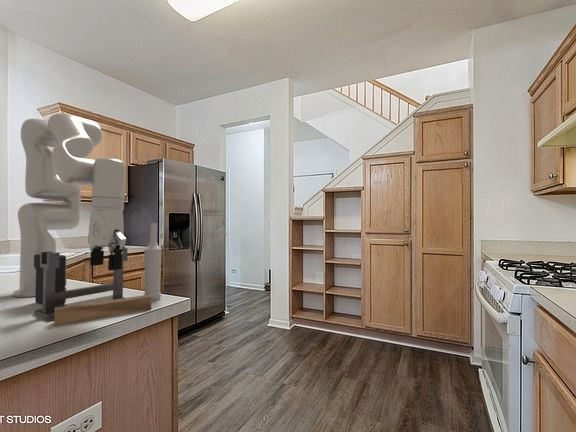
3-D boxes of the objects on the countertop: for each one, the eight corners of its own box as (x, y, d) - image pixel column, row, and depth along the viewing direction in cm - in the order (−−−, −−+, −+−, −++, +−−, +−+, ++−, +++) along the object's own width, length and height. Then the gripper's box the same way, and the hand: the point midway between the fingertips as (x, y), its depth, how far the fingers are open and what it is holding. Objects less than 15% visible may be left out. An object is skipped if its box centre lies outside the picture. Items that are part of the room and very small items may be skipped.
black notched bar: (67, 304, 90) (68, 255, 90) (51, 308, 86) (52, 256, 87) (49, 300, 95) (50, 253, 96) (32, 303, 91) (33, 254, 92)
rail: (54, 324, 74) (54, 308, 74) (148, 308, 88) (148, 294, 88) (54, 327, 72) (55, 310, 72) (151, 310, 86) (151, 296, 86)
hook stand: (34, 314, 80) (35, 251, 81) (114, 298, 98) (115, 246, 98) (48, 321, 75) (50, 254, 75) (131, 303, 93) (132, 248, 93)
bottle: (154, 301, 94) (155, 223, 95) (139, 300, 95) (141, 222, 96) (164, 297, 100) (165, 223, 100) (150, 296, 101) (151, 222, 101)
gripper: (78, 203, 83) (75, 265, 82) (109, 204, 73) (107, 273, 73) (106, 204, 89) (104, 262, 89) (139, 205, 79) (136, 269, 79)
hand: (105, 267), depth 81 cm, fingers open, 9 cm apart
